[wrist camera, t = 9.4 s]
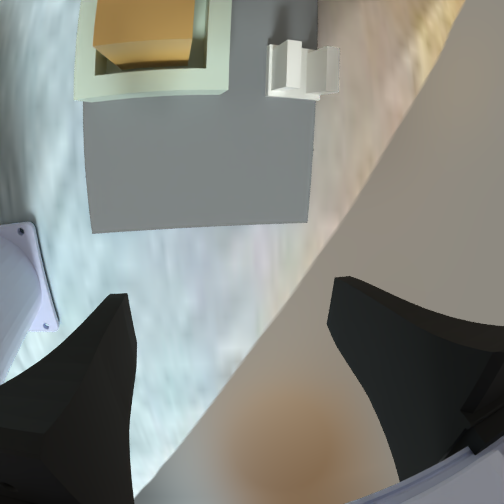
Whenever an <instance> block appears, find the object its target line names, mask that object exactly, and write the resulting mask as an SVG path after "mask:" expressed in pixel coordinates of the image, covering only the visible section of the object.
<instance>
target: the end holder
mask: <svg viewBox="0 0 504 504" xmlns="http://www.w3.org/2000/svg"><path fill="white" fill-rule="evenodd" d="M96 8H97V0H81V5H80V12H79V20H78V29H77V39H76V52H75V69H74V100H76V101H84V102H91V103H92V102H100V101H108V100H118V99H128V98H140V97H154V96H174V95H220V94H222V93H224V92H226V91H227V90H228V86H229V56H230V31H231V9H232V0H195V7H194V21H193V37H192V44H191V49H190V55H189V61H188V66H170V67H150V68H136V69H125V70H121V69H120V68H119V67H118V66H116V65H115V64H114V63H113V62H111V61H110V60H109V59H108V58H106V57H105V56H104V55H103V54H101V53H100V52H99V51H98V50H96V49H95V48H94V47H93V35H94V25H95V16H96Z"/></svg>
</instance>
